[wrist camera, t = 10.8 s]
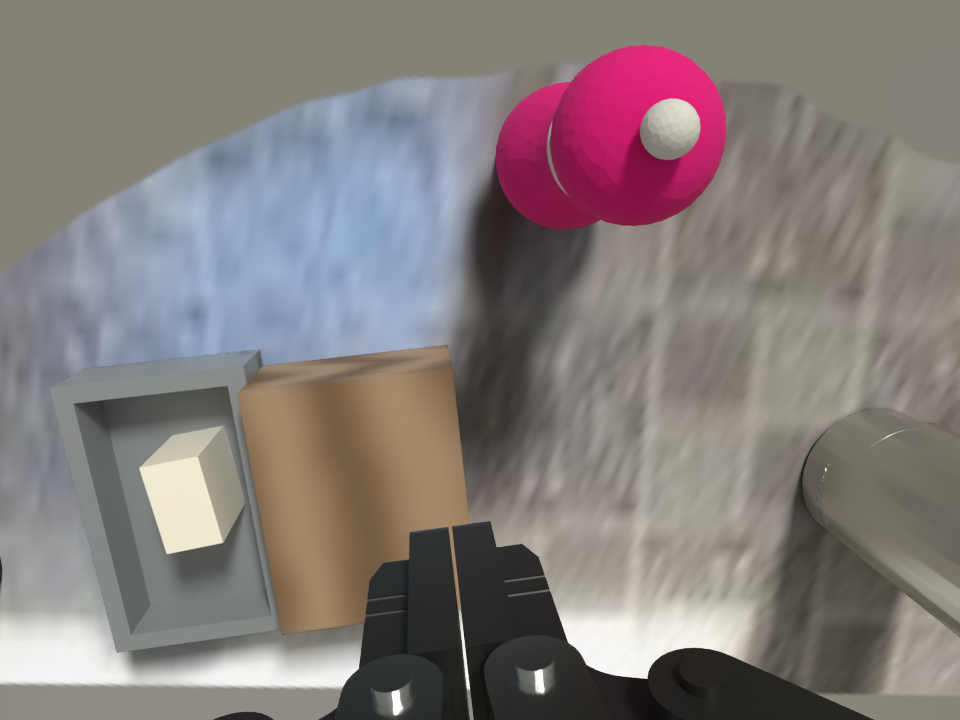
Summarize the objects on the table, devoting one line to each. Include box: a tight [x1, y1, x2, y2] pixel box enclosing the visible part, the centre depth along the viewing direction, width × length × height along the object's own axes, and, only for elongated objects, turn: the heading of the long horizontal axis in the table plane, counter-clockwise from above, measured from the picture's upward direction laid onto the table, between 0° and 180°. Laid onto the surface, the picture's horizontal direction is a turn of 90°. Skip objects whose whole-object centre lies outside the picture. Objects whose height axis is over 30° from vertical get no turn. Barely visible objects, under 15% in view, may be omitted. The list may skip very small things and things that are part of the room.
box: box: [49, 350, 281, 653], centre depth 40 cm, size 10×16×4 cm, turn 6°
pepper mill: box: [496, 45, 726, 229], centre depth 30 cm, size 7×7×20 cm
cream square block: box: [139, 425, 246, 554], centre depth 38 cm, size 5×5×3 cm
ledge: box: [237, 345, 469, 635], centre depth 40 cm, size 11×14×6 cm
